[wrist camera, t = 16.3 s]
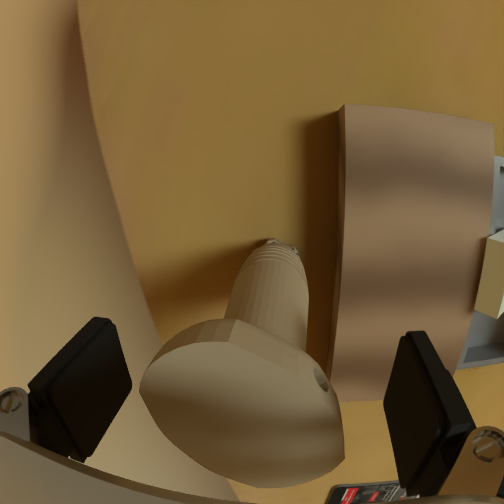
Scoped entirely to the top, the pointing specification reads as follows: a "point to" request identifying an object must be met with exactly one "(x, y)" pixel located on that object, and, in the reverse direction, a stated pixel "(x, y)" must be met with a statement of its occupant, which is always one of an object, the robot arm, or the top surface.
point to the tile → (492, 278)
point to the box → (481, 326)
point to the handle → (250, 382)
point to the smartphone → (368, 493)
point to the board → (406, 239)
